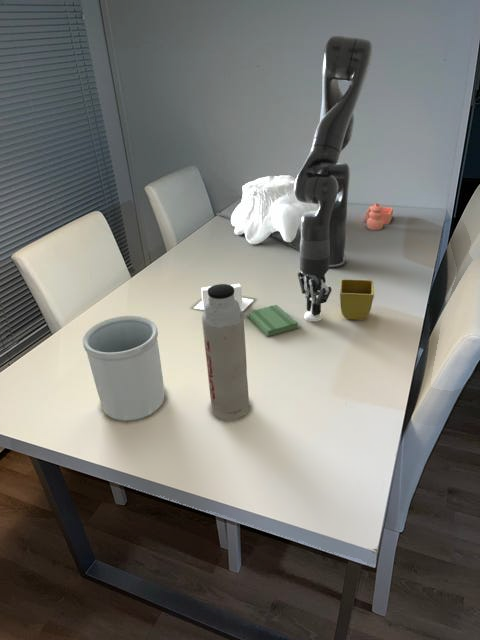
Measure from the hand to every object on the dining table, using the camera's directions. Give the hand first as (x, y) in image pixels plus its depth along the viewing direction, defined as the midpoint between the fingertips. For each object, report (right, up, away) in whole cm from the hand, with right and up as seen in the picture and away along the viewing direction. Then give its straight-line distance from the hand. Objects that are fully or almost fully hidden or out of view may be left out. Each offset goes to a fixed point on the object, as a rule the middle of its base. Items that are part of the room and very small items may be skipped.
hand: (313, 312), depth 133 cm
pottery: (+37, +38, +68) cm, 86 cm away
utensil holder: (-43, -20, -26) cm, 54 cm away
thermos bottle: (-22, -21, -30) cm, 43 cm away
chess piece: (0, -2, +1) cm, 2 cm away
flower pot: (+12, -1, +2) cm, 12 cm away
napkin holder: (-25, +2, +12) cm, 28 cm away
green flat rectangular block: (-11, -3, +1) cm, 12 cm away
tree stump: (-6, +35, +68) cm, 77 cm away
